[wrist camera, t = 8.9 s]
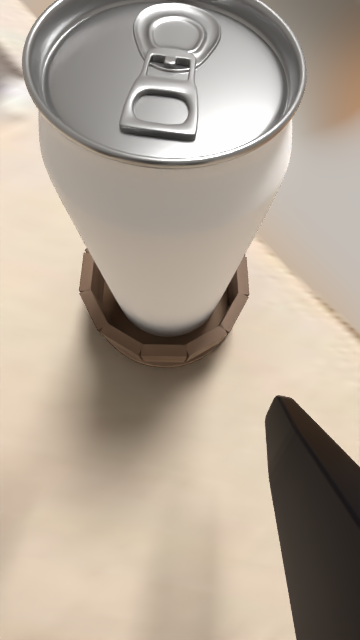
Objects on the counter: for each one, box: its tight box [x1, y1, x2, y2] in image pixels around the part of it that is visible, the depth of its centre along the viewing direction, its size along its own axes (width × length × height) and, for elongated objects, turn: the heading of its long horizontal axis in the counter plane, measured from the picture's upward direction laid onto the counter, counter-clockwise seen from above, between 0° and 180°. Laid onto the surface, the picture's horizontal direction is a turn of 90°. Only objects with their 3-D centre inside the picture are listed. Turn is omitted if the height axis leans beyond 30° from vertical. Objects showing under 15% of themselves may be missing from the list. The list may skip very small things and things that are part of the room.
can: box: [22, 0, 306, 337], centre depth 11 cm, size 6×6×12 cm
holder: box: [79, 248, 249, 367], centre depth 16 cm, size 10×10×4 cm
